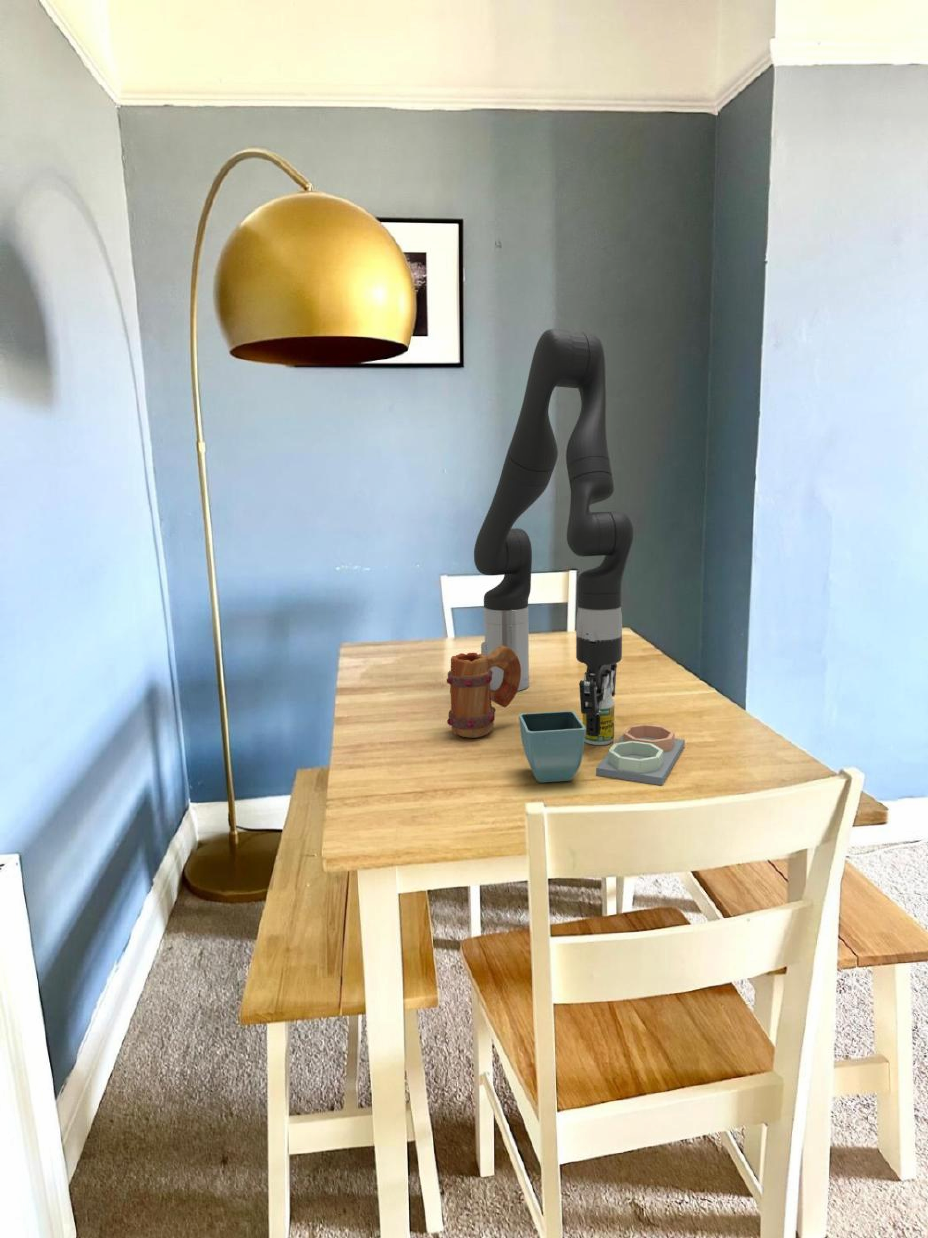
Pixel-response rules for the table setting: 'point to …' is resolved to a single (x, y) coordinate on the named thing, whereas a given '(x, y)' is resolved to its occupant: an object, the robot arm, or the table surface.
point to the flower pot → (553, 744)
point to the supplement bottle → (603, 722)
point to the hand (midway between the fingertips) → (598, 729)
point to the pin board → (642, 755)
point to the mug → (480, 689)
